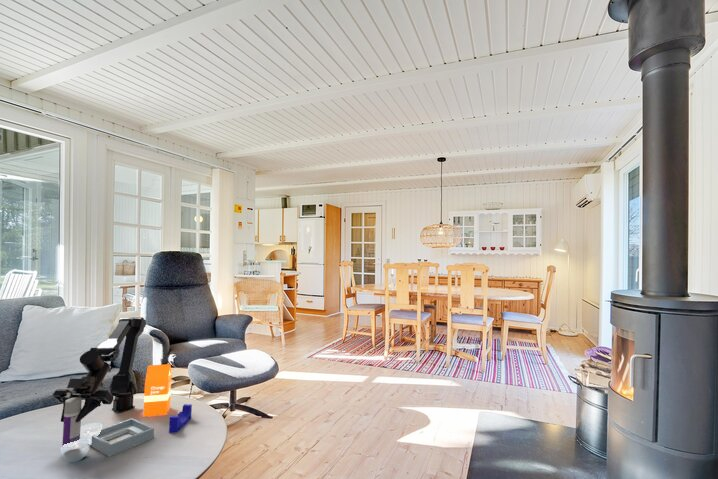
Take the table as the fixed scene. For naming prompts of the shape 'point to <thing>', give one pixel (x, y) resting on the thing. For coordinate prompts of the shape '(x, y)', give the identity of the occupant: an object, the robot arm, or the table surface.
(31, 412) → the table surface
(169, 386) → the orange juice
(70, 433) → the container
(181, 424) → the cable clip
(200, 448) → the table surface
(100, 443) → the walled box
